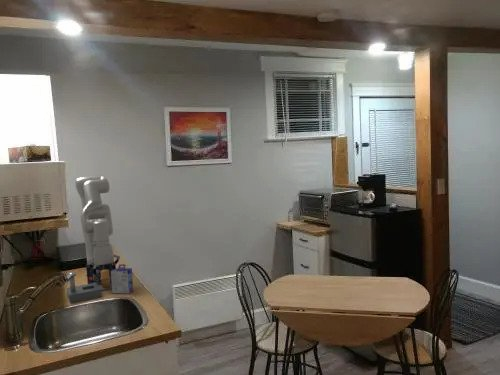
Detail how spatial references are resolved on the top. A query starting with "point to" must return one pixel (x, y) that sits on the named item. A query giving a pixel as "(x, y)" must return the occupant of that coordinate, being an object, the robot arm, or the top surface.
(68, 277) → the clip
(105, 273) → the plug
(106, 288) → the pad
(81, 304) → the top surface
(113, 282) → the ink cartridge box
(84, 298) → the socket block
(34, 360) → the top surface
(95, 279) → the small box
